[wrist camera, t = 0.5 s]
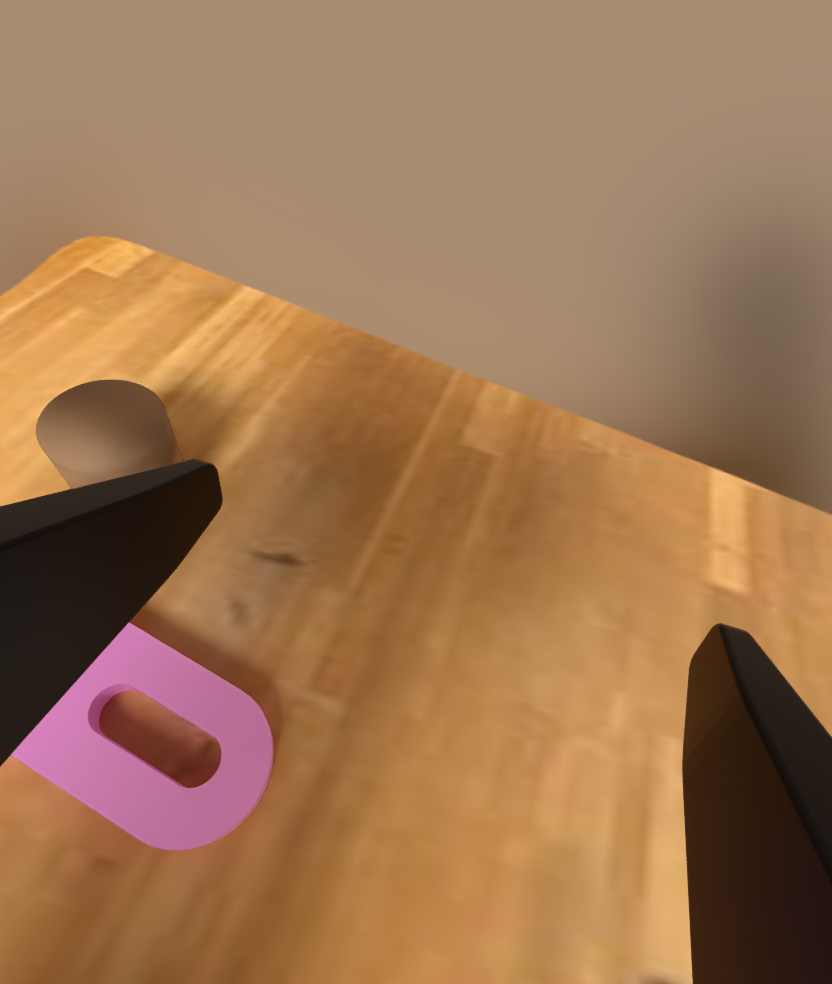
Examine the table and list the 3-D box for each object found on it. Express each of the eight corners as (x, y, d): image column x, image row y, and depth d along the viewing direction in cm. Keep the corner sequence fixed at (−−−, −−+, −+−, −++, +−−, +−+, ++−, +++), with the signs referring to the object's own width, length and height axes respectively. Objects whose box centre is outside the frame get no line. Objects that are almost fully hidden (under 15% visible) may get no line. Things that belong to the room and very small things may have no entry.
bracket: (-64, 697, 19) (-221, 648, 14) (56, 583, 22) (-30, 503, 17) (213, 880, 18) (169, 910, 12) (300, 730, 21) (298, 699, 15)
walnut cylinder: (133, 544, 24) (97, 488, 20) (57, 491, 25) (7, 427, 21) (209, 477, 27) (191, 415, 23) (138, 431, 27) (108, 363, 23)
